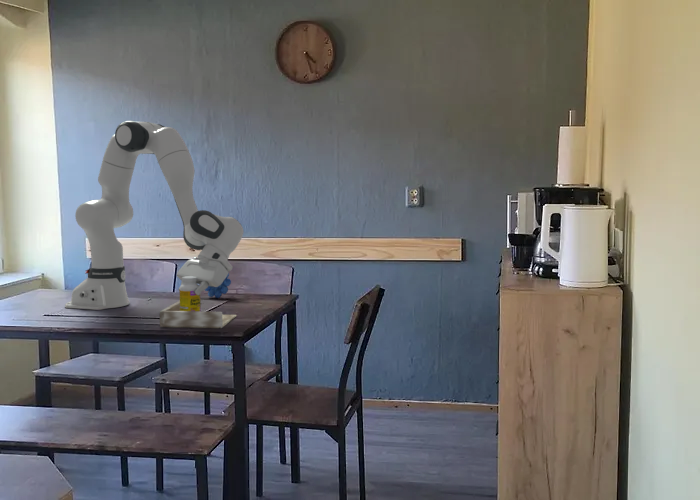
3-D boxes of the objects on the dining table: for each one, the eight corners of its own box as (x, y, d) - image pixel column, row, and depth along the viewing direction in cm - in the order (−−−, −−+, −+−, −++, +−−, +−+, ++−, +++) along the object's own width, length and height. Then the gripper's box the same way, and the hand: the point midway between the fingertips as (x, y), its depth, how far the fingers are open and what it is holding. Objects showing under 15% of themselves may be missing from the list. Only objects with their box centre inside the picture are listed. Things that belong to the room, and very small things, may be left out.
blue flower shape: (236, 296, 282) (235, 266, 280) (228, 300, 275) (227, 268, 274) (209, 295, 285) (208, 265, 284) (201, 298, 279) (200, 267, 277)
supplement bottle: (190, 318, 232) (189, 279, 231) (175, 316, 236) (174, 277, 234) (205, 315, 238) (204, 276, 236) (190, 312, 241) (189, 274, 240)
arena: (160, 327, 231) (159, 311, 230) (179, 315, 248) (179, 300, 248) (221, 328, 228) (220, 312, 228) (236, 316, 246) (236, 301, 245)
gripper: (186, 251, 246) (163, 283, 240) (225, 256, 233) (201, 290, 227) (198, 262, 250) (175, 294, 244) (236, 268, 237) (213, 302, 231)
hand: (188, 292), depth 235 cm, fingers closed on supplement bottle, 7 cm apart
